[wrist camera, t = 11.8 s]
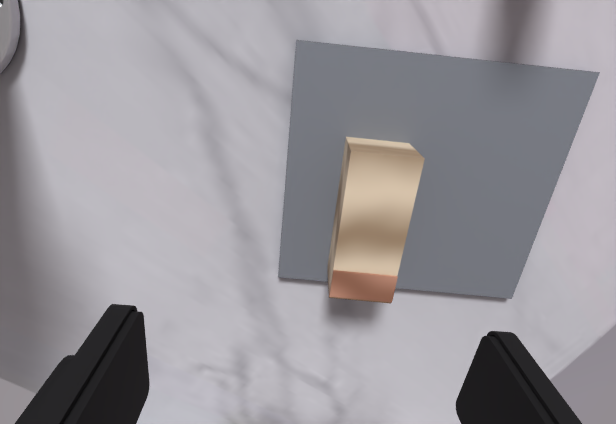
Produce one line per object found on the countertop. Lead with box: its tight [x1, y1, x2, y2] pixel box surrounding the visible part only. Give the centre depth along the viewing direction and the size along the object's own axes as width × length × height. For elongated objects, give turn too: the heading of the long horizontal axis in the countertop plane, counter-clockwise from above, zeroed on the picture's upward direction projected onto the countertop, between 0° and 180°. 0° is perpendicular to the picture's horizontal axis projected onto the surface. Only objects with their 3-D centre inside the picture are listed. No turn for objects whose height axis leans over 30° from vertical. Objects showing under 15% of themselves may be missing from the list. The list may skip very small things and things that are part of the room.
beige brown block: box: [327, 137, 425, 303], centre depth 29 cm, size 12×5×5 cm, turn 174°
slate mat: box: [278, 40, 600, 299], centre depth 31 cm, size 22×20×1 cm
